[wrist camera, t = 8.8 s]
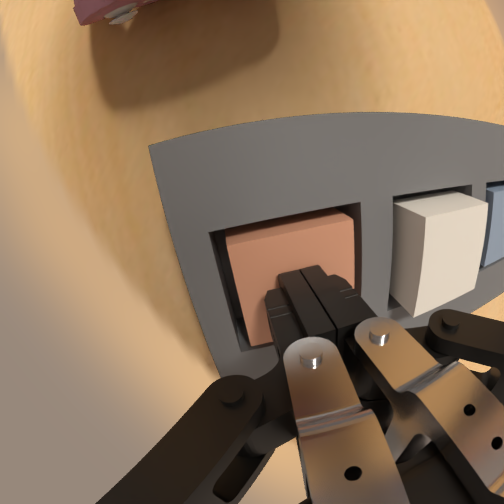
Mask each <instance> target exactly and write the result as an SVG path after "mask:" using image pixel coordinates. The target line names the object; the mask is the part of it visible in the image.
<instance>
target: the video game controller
mask: <svg viewBox="0 0 504 504" xmlns="http://www.w3.org/2000/svg"><path fill="white" fill-rule="evenodd" d="M155 1H158V0H74V4H75V7H74V8H73V9H74V12H75V14H76V16H77V19H78V21H79V24H80V25H81V26H85V25H89V24H92V23H94V22H97V21H100V20H102V19H105V18H115V19H113V20H112V21H111V22H110V23H109V24H121V23H124V22H126V21H128V20H130V19H132V17H134V16H135V14H137V13H138V10H136V11H132V12H129V11H131V10H132V9H133V8H135V7H140V6H143V5H146V4H150V3H153V2H155Z"/></svg>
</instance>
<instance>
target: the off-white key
mask: <svg viewBox="0 0 504 504" xmlns="http://www.w3.org/2000/svg"><path fill="white" fill-rule="evenodd" d="M487 213H488V203H486V202H484V201H481V200H479V199H476V198H473V197H471V196H468V195H465V194H462V193H459V192H457V191H454V190H452V191H446V192H440V193H433V194H427V195H421V196H415V197H409V198H403V199H397V200H393V240H392V262H391V276H390V287H389V293H390V294H391V295H392V296H393V297H394V298H395V299H396V300H397V301H398V302H399V303H400V304H401V305H402V306H403V307H404V308H405V309H406V310H407V311H408V313H409V314H410V315H411V316H412V317H413V318H414V317H416V316H418V315H421V314H423V313H425V312H428V311H430V310H432V309H434V308H436V307H439V306H441V305H443V304H445V303H447V302H449V301H451V300H453V299H455V298H457V297H459V296H461V295H463V294H465V293H467V292H469V291H471V290H473V289H474V288H475V284H476V280H477V275H478V271H479V266H480V261H481V256H482V250H483V244H484V238H485V230H486V222H487Z"/></svg>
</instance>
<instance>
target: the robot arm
mask: <svg viewBox="0 0 504 504" xmlns="http://www.w3.org/2000/svg"><path fill="white" fill-rule="evenodd" d="M278 281H279V287H280V288H276V289H272V290H267V293H266V296H265V299H264V302H265V307H266V312H267V318H268V323H269V328H270V333H271V336H272V340H273V343H274V346H275V350H276V353H277V356H278V360H279V361H278V363H277V364H276V366H275V367H274V368H273V369H272V370H271V371H269V372H268V373H266V374H265V375H263V376H261V377H259V378H257V379H255V380H254V379H252V378H250V377H248V376H244V375H229V376H225V377H222V378H220V379H218V380H216V381H215V382H213V383H212V384H211V385H210V386H209V387H208V388H207V389H206V390H205V392H204V393H203V394H202V395H201V396H200V397H199V398H198V400H197V401H196V402H195V403H194V404H193V405H192V406H191V407H190V408H189V410H188V411H187V412H186V413H185V414H184V415H183V416H182V418H180V420H179V421H178V422H177V423H176V424H175V425H174V426H173V427H172V428H171V429H170V430H169V432H167V434H166V435H165V436H164V437H163V438H162V439H161V440H160V441H159V442H158V443H157V444H156V445H155V446H154V447H153V448H152V450H150V451H149V452H148V454H146V455H145V457H143V458H142V460H141V461H140V462H139V463H138V464H137V465H136V466H135V467H134V468H132V470H130V472H128V473H127V475H125V476H124V477H123V478H122V479H121V480H120V481H119V482H118V483H117V484H116V485H115V486H114V487H113V488H112V489H111V490H110V491H109V492H108V493H106V494H105V495H104V496H103V497H102V498H101V499H100V500H99V501H98V502H96V504H238V503H239V502H240V500H241V499H242V498H243V496H244V495H245V494H246V492H247V491H248V489H249V488H250V487H251V485H252V484H253V483H254V481H255V480H256V478H257V477H258V475H259V474H260V472H261V471H262V470H263V468H264V467H265V465H266V463H267V462H268V460H269V459H270V457H271V456H272V454H273V453H274V451H275V448H277V447H279V446H281V445H282V444H284V443H286V442H288V441H290V440H291V439H293V438H295V437H296V440H297V445H298V451H299V456H300V461H301V467H302V473H303V479H304V485H305V490H306V496H307V499H305V500H304V501H302V502H301V503H299V504H504V322H502V321H498V320H494V319H490V318H485V317H481V316H477V315H473V314H469V313H465V312H461V311H457V310H452V309H441V310H438V311H436V312H434V313H433V314H432V315H431V316H430V318H429V322H428V326H422V327H415V328H405V329H404V328H403V327H402V326H401V325H400V324H399V323H397V322H396V321H394V320H392V319H389V318H385V317H378V316H377V315H376V314H375V313H374V311H373V310H372V309H371V308H370V307H369V306H368V304H367V303H366V302H365V301H364V300H363V299H362V297H361V296H360V295H358V293H357V292H356V291H355V289H353V288H352V286H351V285H350V284H349V283H348V281H347V280H346V279H344V278H342V277H340V276H338V275H336V274H333V275H329V276H327V274H326V273H325V272H324V271H323V269H322V268H321V267H320V266H319V265H314V266H310V267H306V268H301V269H299V270H298V269H297V270H293V271H289V272H284V273H280V274H278ZM459 359H463V360H467V361H471V362H475V363H478V364H482V365H486V366H490V367H491V369H490V370H489V371H487V372H484V373H480V372H476V371H472V370H469V369H468V368H467V367H466V366H464V365H463V364H462V363H460V362H458V360H459Z"/></svg>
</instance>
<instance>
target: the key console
mask: <svg viewBox="0 0 504 504" xmlns="http://www.w3.org/2000/svg"><path fill="white" fill-rule="evenodd" d="M148 147H149V151H150V156H151V160H152V165H153V169H154V173H155V177H156V181H157V185H158V189H159V193H160V197H161V201H162V205H163V209H164V212H165V216H166V220H167V223H168V227H169V230H170V234H171V237H172V241H173V244H174V247H175V251H176V254H177V257H178V260H179V264H180V267H181V270H182V273H183V276H184V279H185V282H186V285H187V288H188V291H189V294H190V297H191V300H192V303H193V306H194V309H195V312H196V314H197V317H198V320H199V323H200V325H201V328H202V331H203V334H204V336H205V339H206V342H207V344H208V347H209V349H210V352H211V355H212V357H213V360H214V362H215V365H216V367H217V370H218V372H219V374H220V377H221V378H222V377H225V376H229V375H244V376H248V377H250V378H252V379H254V380H255V379H257V378H259V377H261V376H263V375H265V374H266V373H268V372H269V371H271V370H272V369H273V368H274V367H275V366H276V364H277V363H278V361H279V360H278V356H277V353H276V350H275V346H274V343H273V342H269V343H264V344H260V345H255V346H251V344H250V340H249V336H248V332H247V328H246V324H245V320H244V316H243V312H242V308H241V304H240V300H239V296H238V292H237V288H236V284H235V279H234V275H233V271H232V267H231V262H230V258H229V254H228V250H227V245H226V237H225V228H230V227H235V226H239V225H244V224H249V223H253V222H258V221H263V220H268V219H273V218H278V217H283V216H288V215H293V214H298V213H303V212H308V211H313V210H318V209H324V208H329V207H334V208H335V209H337V210H339V211H340V212H342V213H344V214H345V215H347V216H349V217H350V218H352V219H353V225H354V289H355V291H356V292H357V293H358V295H360V296H361V297H362V299H363V300H364V301H365V302H366V303H367V304H368V306H369V307H370V308H371V309H372V310H373V311H374V313H375V314H376V315H377V316H378V317H385V318H389V319H392V320H394V321H396V322H397V323H399V324H400V325H401V326H402V327H403V328H404V329H405V328H415V327H422V326H428V322H429V318H430V316H431V315H432V314H433V313H434V312H436V311H438V310H441V309H452V310H457V311H461V312H465V313H469V314H470V313H472V312H473V311H475V310H477V309H478V308H480V307H482V306H483V305H485V304H486V303H488V302H489V301H491V300H493V299H494V298H496V297H497V296H499V295H500V294H502V293H503V292H504V257H502V258H500V259H498V260H497V261H495V262H493V263H491V264H489V265H487V266H485V267H483V266H482V265H480V266H479V271H478V275H477V280H476V284H475V288H474V289H473V290H471V291H469V292H467V293H465V294H463V295H461V296H459V297H457V298H455V299H453V300H451V301H449V302H447V303H445V304H443V305H441V306H439V307H436V308H434V309H432V310H430V311H428V312H425V313H423V314H421V315H418V316H416V317H414V318H413V317H412V316H411V315H410V314H409V313H408V311H407V310H406V309H405V308H404V307H403V306H402V305H401V304H400V303H399V302H398V301H397V300H396V299H395V298H394V297H393V296H392V295H391V294H390V293H389V287H390V276H391V262H392V240H393V200H397V199H403V198H409V197H415V196H421V195H427V194H433V193H440V192H446V191H452V190H454V191H457V192H459V193H462V194H465V195H468V196H471V197H473V198H476V199H479V200H481V201H484V202H485V200H486V182H495V181H504V126H503V125H499V124H494V123H489V122H483V121H478V120H471V119H465V118H458V117H450V116H441V115H430V114H416V113H395V112H351V113H329V114H315V115H303V116H293V117H285V118H276V119H269V120H262V121H255V122H249V123H243V124H237V125H232V126H227V127H222V128H217V129H212V130H207V131H203V132H198V133H194V134H190V135H186V136H182V137H178V138H174V139H170V140H167V141H163V142H159V143H156V144H152V145H149V146H148Z"/></svg>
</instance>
